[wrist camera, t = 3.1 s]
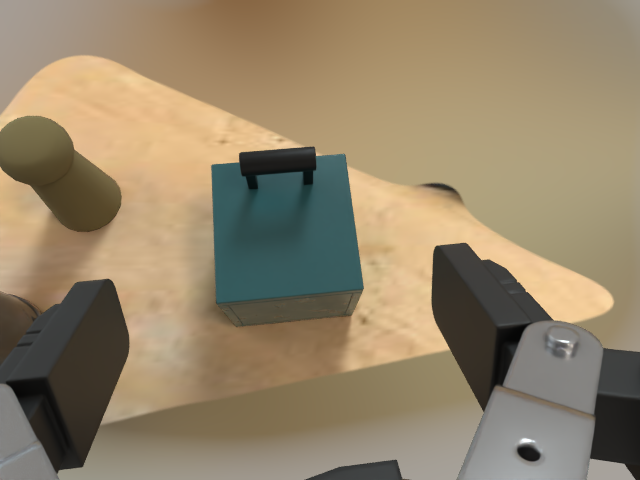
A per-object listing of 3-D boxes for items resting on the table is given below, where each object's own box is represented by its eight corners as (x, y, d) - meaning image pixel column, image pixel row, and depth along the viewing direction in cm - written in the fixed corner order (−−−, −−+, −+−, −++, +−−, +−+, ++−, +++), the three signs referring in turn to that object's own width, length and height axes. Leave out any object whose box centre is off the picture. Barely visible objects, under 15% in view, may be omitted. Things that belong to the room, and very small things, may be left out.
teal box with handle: (213, 169, 37) (199, 135, 32) (344, 158, 37) (349, 123, 33) (218, 306, 33) (203, 289, 29) (362, 291, 34) (371, 273, 29)
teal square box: (230, 218, 45) (213, 175, 36) (338, 209, 45) (345, 164, 37) (236, 327, 41) (218, 306, 33) (352, 315, 42) (362, 292, 34)
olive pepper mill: (134, 188, 45) (83, 123, 35) (96, 242, 44) (29, 190, 33) (81, 162, 46) (15, 90, 36) (41, 214, 44) (-41, 153, 34)
